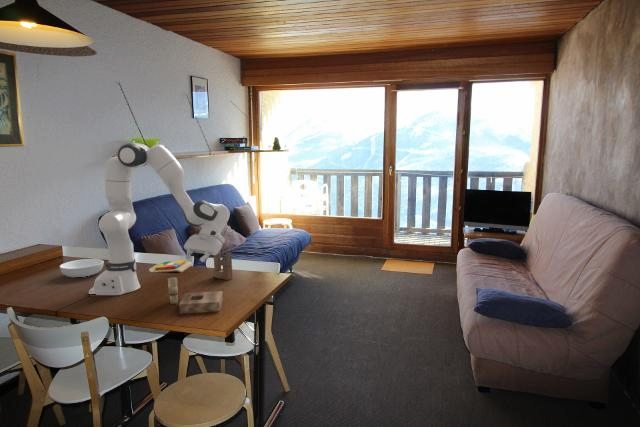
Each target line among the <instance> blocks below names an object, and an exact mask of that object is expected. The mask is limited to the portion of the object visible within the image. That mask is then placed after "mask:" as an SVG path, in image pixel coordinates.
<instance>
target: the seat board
mask: <svg viewBox="0 0 640 427" xmlns="http://www.w3.org/2000/svg"><path fill="white" fill-rule="evenodd" d="M222 304H223V291H222V290H218V291H216V290H215V291H202V292H201V291H200V292H199V291H198V292H186V293H184V294H183V296H182V298H181V300H180V302H179V304H178V306H179V308H178V309H179V314H180V315H181V314H182V315H183V314H195V313H196V314H198V313H199V314H200V313H211V312H221V308H222Z"/></svg>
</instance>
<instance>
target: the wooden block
mask: <svg viewBox="0 0 640 427" xmlns="http://www.w3.org/2000/svg"><path fill="white" fill-rule="evenodd" d="M221 254H222V253H221V250H220V251H219V253H218V254H217V255H213V267H214V268H213V270H212V277H213V278H216V279H221V280H227V281H229V280H232V279H233V276H234V275H233V260H232V251H230V252H227V253H225V254H224V256H222V258H221Z"/></svg>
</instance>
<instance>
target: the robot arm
mask: <svg viewBox="0 0 640 427" xmlns="http://www.w3.org/2000/svg"><path fill="white" fill-rule="evenodd" d="M105 165H106V166H105V171H104V172H105V173H104V174H105V175H104V179H105V180H104V182H105V184H104V187H105V188H104V191H105V192H104V193H105V194H104V196H105V199H106V201H107V202H108V206H109V207H108V208H109V211H108V212H106V213H104V215H102V216H101V218H100V219H99V222H98V228H99V230H100V232H102V233H103V234H102V235H103V236H104V239H105V242H106V245H107V246H106V247H107V252H108V260H107V261H106V263H105V264H103V267H104V268H105V270H104V271H103V272H101V273H100V274H99V275H98V276H97V277H96V278H95V280H94V282H93V287H91V288H90V290H88V295H89V294H96V295H95V296H121V295H123V294H127V293H131V292H136V291H138V290H139V289H140V288H141V284H140V281H139V278H138V275H137V262H136V259H135V251H134V250H135V249H134V243H133V241H132V240H131V237H130V234H129V230H130V229H131V228H132V227H133V226H135V223H136V221H137V215H136V212H135V210H134V205H133V199H132V172H133V169H135V168H140V167H144V166H147V165H149V166H150V167H151V168H153V170H154V171H155V173H156V174H157V175H158V177H159V178H160V180H162V182H163V183H164V185H165V186H166V187H167V190H168V191H169V193H170V194H171V195H172V197H173V198H174V200H175V202H176V203H177V205H178V206H179V207H180V209H181V211H182V213H183V217H184V220H185V222H186V223H187V224H188V225H189V226H191V227H194V228H197V227H201V226H202V225H203V226H202V227H201V229H200V231H199V233H195V234H193V235H192V234H191V236H189V238H188V239H187V240H186V242H185V243H184V245H183V248H184V250H186V256H185V259H186V260H191V259H192V256H191V255H192V254H193V253H196V254H203V255H202V256H200V258H199V262H201V263H204V262H206V260H207V259H208V258H209V257H210V256H214V255H217V254H218V253H219V251H220V252H221V249H222V247H223V245H224V243H225V242H226V239H225V238H224V236H222V235H221V233H222V231H223V229H224V228H225V227H226V224H227V223H228V221H229V219H230V215H231V212H230V210H229V208H228V207H227V206H226V205H224V204H223V203H211V202H209V201H207V200H204V199H203V200H202V199H201V200H197V201H196V202H193V200H192V199H191V197H190V195H189V194H188V193H187V191H186V190H185V186H184V184H185V183H184V179H185V170H184V168H183V167H182V165H181V164H180V162H179V161H178V159H177V158H176V157H175V156H174V155H173V153H172V152H171V151H170V150H169V149H168V148H167V147H165V146H164V145H163V144H155V145H152V146H149V145H148V144H146V143H142V142H141V143H140V142H132V143H125V144H123V145H121V146H120V147H119V148H118V151H117V155H116V156H112V157H110V158H108V160H107V161H106V164H105Z"/></svg>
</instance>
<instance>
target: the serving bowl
mask: <svg viewBox="0 0 640 427" xmlns="http://www.w3.org/2000/svg"><path fill="white" fill-rule="evenodd" d="M104 263H105V262H104V260H103V259H99V258H88V259H87V258H85V259H76V260H71V261H67V262H63V263H62V264H60V265H59V270H60V271H61V273H62V274H63V275H65V276H66V277H69V278H75V277H83V278H87V277H86V276H88V277H91V276H94V275H97V274H98V273H99V272H101V271H102V269H103V267H104V265H105V264H104ZM90 275H91V276H90Z"/></svg>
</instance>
